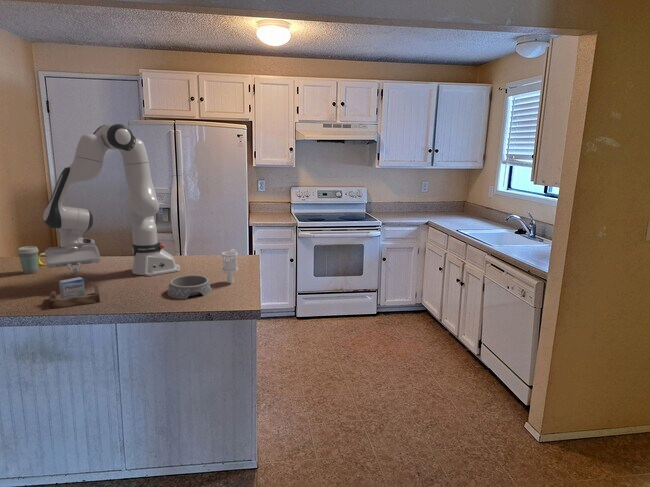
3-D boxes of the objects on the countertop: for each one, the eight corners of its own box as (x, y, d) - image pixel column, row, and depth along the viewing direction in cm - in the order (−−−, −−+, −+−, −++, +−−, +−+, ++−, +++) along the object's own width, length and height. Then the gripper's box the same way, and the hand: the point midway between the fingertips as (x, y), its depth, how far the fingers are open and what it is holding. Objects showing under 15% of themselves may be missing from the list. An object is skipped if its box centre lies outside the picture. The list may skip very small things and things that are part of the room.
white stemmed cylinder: (241, 281, 209) (240, 250, 205) (232, 285, 203) (231, 253, 199) (228, 278, 212) (228, 248, 208) (219, 282, 205) (218, 251, 202)
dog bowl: (217, 294, 191) (216, 282, 190) (173, 302, 182) (172, 289, 180) (204, 283, 205) (204, 272, 204) (163, 289, 196) (162, 278, 194)
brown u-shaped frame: (98, 292, 189) (98, 285, 189) (99, 302, 179) (99, 295, 178) (52, 298, 181) (51, 291, 181) (50, 308, 171) (49, 301, 170)
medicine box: (64, 303, 176) (62, 282, 174) (60, 300, 179) (58, 280, 177) (85, 298, 182) (83, 278, 180) (81, 296, 185) (79, 276, 183)
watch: (37, 265, 225) (35, 254, 224) (41, 264, 228) (38, 253, 227) (48, 265, 225) (46, 254, 224) (52, 263, 228) (50, 252, 226)
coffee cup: (45, 270, 217) (42, 246, 214) (29, 275, 209) (25, 250, 206) (32, 268, 219) (29, 245, 216) (15, 273, 211) (12, 249, 209)
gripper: (43, 244, 187) (45, 272, 181) (97, 239, 196) (101, 266, 190) (45, 251, 192) (47, 280, 186) (98, 246, 201) (102, 273, 195)
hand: (75, 273), depth 188 cm, fingers closed
